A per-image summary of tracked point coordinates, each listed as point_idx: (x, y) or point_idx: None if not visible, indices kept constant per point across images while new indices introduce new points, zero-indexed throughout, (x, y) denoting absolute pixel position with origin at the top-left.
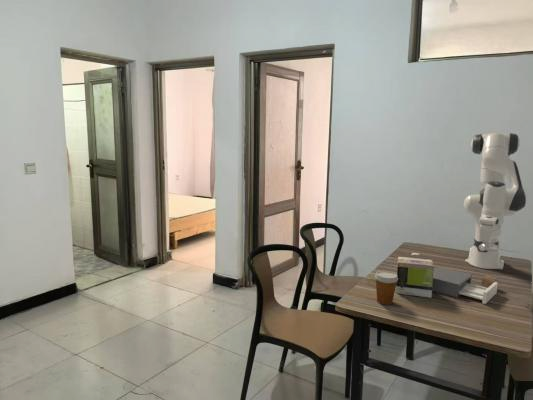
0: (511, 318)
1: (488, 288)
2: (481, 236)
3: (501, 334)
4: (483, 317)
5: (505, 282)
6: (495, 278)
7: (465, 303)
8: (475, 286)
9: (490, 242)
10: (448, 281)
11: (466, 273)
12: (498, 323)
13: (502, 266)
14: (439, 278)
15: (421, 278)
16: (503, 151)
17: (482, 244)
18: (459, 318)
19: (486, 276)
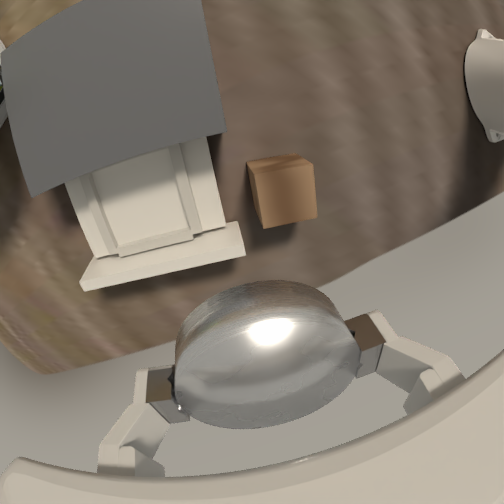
0: (99, 334)
1: (128, 273)
2: (10, 501)
3: (29, 344)
4: (38, 299)
5: (394, 190)
6: (307, 215)
7: (49, 224)
8: (176, 176)
9: (386, 350)
10: (20, 149)
11: (218, 101)
12: (51, 328)
13: (498, 140)
14: (18, 101)
15: None
16: None
17: (199, 362)
18: None
19: (302, 175)
